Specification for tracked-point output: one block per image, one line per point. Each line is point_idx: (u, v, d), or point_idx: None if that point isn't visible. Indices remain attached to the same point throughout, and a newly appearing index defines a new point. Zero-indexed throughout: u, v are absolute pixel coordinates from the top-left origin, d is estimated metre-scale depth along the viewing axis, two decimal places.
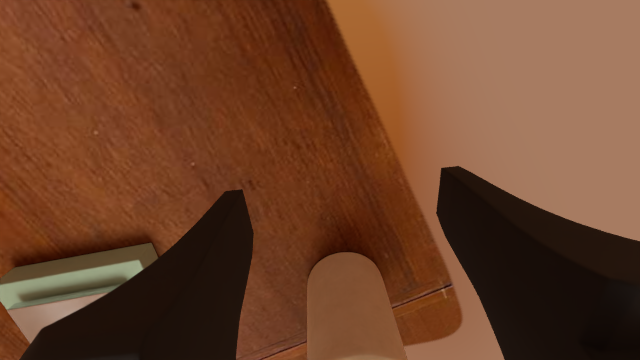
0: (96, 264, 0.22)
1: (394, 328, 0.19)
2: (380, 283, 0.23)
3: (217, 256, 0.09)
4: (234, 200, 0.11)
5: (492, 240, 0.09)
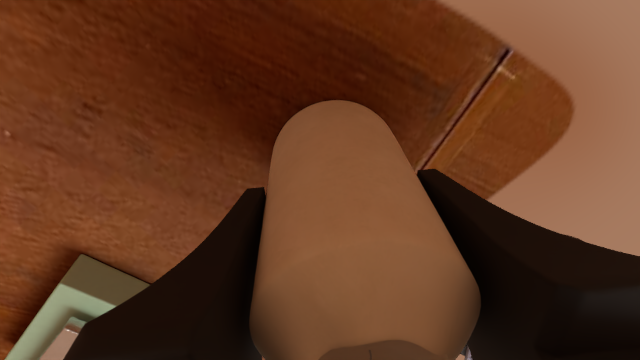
0: None
1: (382, 176, 0.09)
2: (357, 121, 0.12)
3: (245, 253, 0.09)
4: (257, 197, 0.11)
5: (461, 243, 0.09)
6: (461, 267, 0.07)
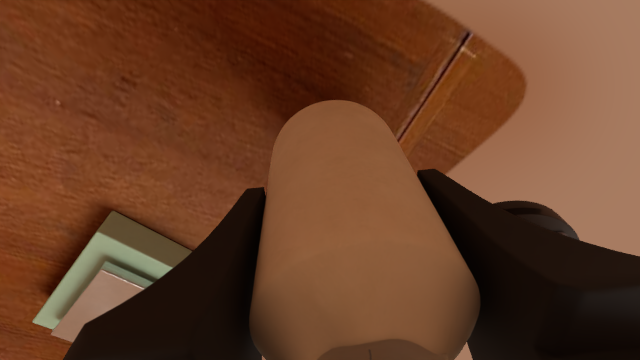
0: (77, 258, 0.20)
1: (382, 176, 0.09)
2: (357, 121, 0.12)
3: (245, 253, 0.09)
4: (257, 198, 0.11)
5: (461, 243, 0.09)
6: (460, 266, 0.07)
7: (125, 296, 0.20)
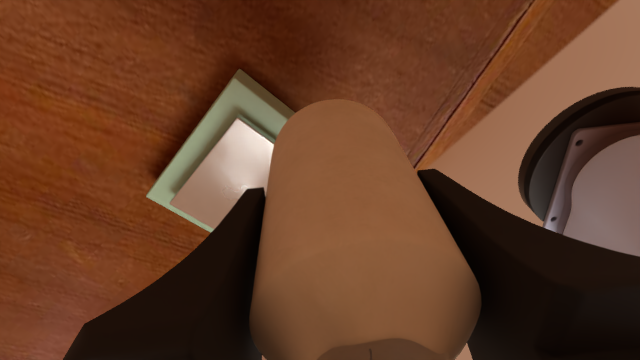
0: (205, 115, 0.20)
1: (382, 175, 0.09)
2: (357, 120, 0.12)
3: (245, 253, 0.09)
4: (257, 198, 0.11)
5: (461, 243, 0.09)
6: (462, 265, 0.07)
7: (255, 154, 0.20)
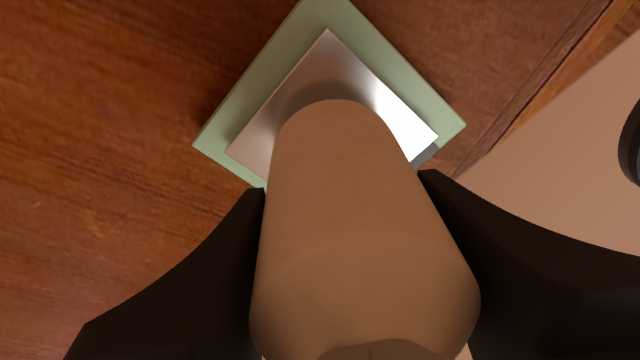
0: (277, 31, 0.15)
1: (382, 175, 0.09)
2: (357, 120, 0.12)
3: (245, 253, 0.09)
4: (257, 197, 0.11)
5: (461, 243, 0.09)
6: (461, 266, 0.07)
7: (342, 82, 0.15)
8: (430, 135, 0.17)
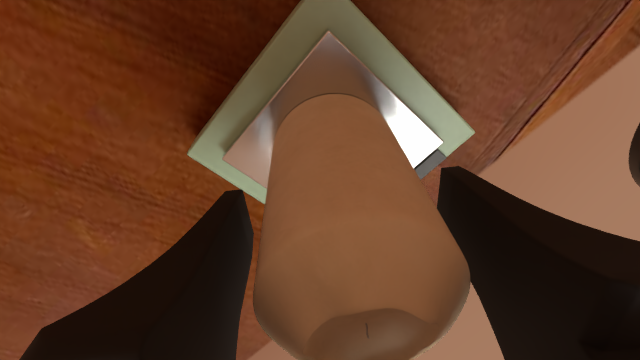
0: (276, 35, 0.14)
1: (378, 162, 0.09)
2: (355, 113, 0.13)
3: (217, 256, 0.09)
4: (234, 200, 0.11)
5: (492, 240, 0.09)
6: (451, 244, 0.08)
7: (344, 87, 0.14)
8: (435, 141, 0.16)
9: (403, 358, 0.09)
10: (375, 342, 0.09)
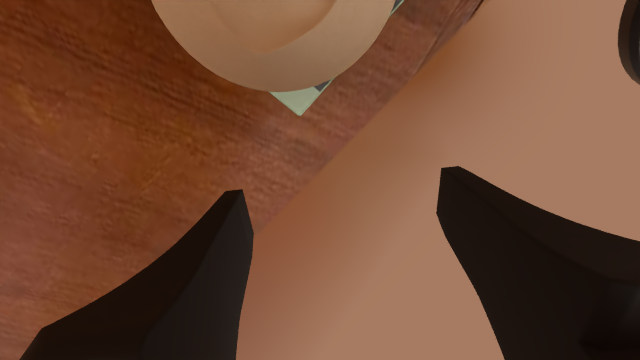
0: None
1: None
2: None
3: (217, 256, 0.09)
4: (234, 200, 0.11)
5: (492, 240, 0.09)
6: None
7: None
8: None
9: (321, 18, 0.07)
10: None
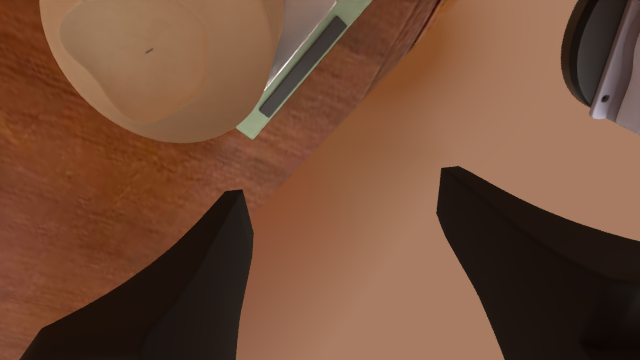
0: None
1: None
2: None
3: (217, 256, 0.09)
4: (234, 200, 0.11)
5: (492, 240, 0.09)
6: None
7: None
8: (329, 0, 0.16)
9: (196, 93, 0.08)
10: (168, 77, 0.08)
